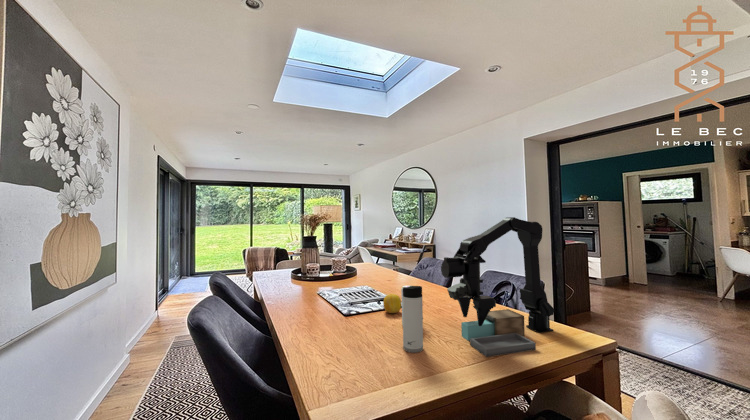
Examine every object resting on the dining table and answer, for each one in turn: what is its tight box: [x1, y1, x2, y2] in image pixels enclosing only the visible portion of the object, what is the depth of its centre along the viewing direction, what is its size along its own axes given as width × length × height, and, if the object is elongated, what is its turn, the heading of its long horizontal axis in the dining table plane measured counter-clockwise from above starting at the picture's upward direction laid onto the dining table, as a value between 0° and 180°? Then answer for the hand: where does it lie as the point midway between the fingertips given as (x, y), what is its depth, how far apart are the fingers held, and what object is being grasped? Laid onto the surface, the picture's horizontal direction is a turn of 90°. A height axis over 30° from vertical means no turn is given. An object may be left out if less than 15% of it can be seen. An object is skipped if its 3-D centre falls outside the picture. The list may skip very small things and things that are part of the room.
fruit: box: [382, 293, 402, 314], centre depth 132 cm, size 9×8×8 cm
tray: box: [469, 333, 537, 358], centre depth 95 cm, size 18×9×2 cm, turn 105°
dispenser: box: [485, 309, 526, 337], centre depth 107 cm, size 12×8×7 cm
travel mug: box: [402, 285, 424, 354], centre depth 95 cm, size 6×7×20 cm
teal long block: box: [460, 319, 495, 342], centre depth 105 cm, size 12×4×5 cm, turn 104°
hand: (472, 321), depth 104 cm, fingers open, 9 cm apart
